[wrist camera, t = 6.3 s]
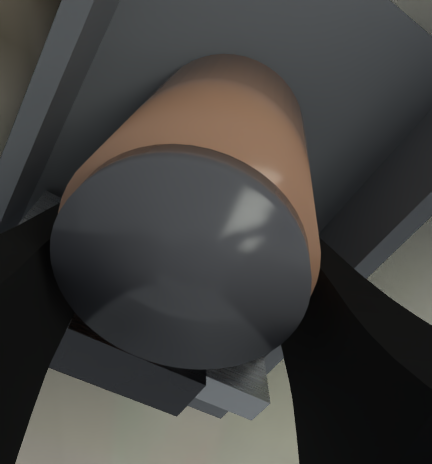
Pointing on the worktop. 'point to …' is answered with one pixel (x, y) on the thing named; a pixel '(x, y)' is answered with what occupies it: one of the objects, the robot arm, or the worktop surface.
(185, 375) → the pusher plate
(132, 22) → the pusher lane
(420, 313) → the worktop surface
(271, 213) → the jar
